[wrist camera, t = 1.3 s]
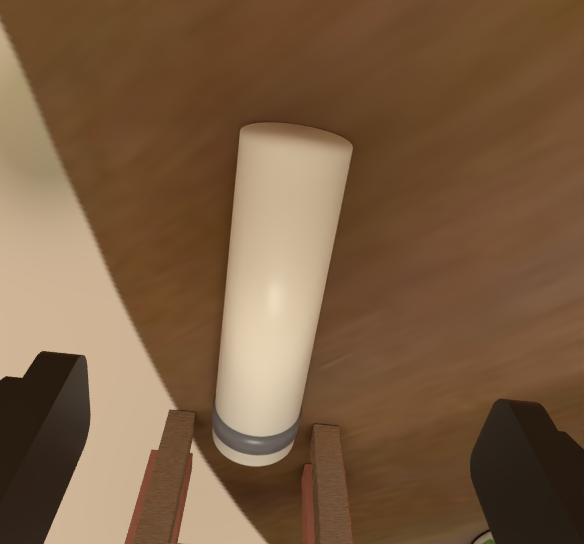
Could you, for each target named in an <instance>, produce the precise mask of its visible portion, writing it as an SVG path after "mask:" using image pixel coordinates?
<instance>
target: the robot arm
mask: <svg viewBox="0 0 584 544" xmlns="http://www.w3.org/2000/svg"><path fill="white" fill-rule="evenodd" d="M89 426H90V401H89V386H88V370H87V361H86V358H85V356H84V355H76V354H67V353H57V352H47V351H42V352H40V353H39V354H38V355H37V357H36V358H35V360H34V361H33V363H32V364H31V366H30V367H29V369H28V370H27V372H26V374H25V375H24V376H23V378H17V377H8V376H6V377H4V378H3V379H1V380H0V544H44V541H45V539H46V537H47V534H48V532H49V529H50V527H51V525H52V522H53V520H54V518H55V515H56V513H57V510H58V508H59V506H60V503H61V501H62V499H63V496H64V494H65V492H66V489H67V487H68V485H69V482H70V480H71V477H72V475H73V473H74V470H75V468H76V466H77V463H78V461H79V458H80V456H81V454H82V451H83V449H84V446H85V443H86V440H87V436H88V432H89ZM470 472H471V479H472V482H473V486H474V488H475V491H476V494H477V496H478V499H479V502H480V504H481V507H482V510H483V512H484V515H485V518H486V520H487V523H488V526H489V529H490V531H491V534H492V537H493V539H494V542H495V544H584V449H583V448H582V447H581V446H579V445H578V444H577V443H576V442H575V441H574V440H573V439H572V438H571V437H570V436H569V435H568V434H567V433H566V432H562V431H558V430H557V428H556V426H555V425H554V423H553V422H552V420H551V418H550V417H549V415H548V413H547V412H546V410H545V408H544V407H543V406H542V405H541V404H539V403H537V402H528V401H519V400H509V399H498V400H497V401H496V402H495V403H494V404H493V406H492V408H491V411H490V413H489V415H488V417H487V419H486V422H485V424H484V426H483V428H482V431H481V433H480V435H479V437H478V439H477V442H476V444H475V446H474V448H473V451H472V454H471V460H470Z"/></svg>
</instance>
